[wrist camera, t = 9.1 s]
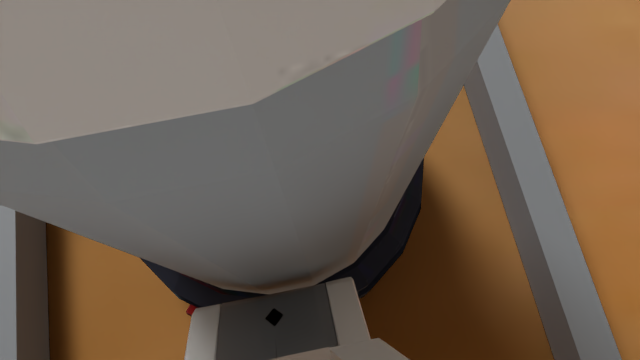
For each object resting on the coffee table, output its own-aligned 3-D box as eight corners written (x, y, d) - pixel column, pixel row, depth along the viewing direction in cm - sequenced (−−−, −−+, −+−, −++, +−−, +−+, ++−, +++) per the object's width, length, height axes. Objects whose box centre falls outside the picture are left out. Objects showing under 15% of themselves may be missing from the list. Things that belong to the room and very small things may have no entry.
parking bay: (15, 483, 13) (-25, 503, 11) (11, 15, 17) (-18, -14, 16) (590, 357, 13) (621, 360, 12) (442, -63, 18) (452, -97, 16)
